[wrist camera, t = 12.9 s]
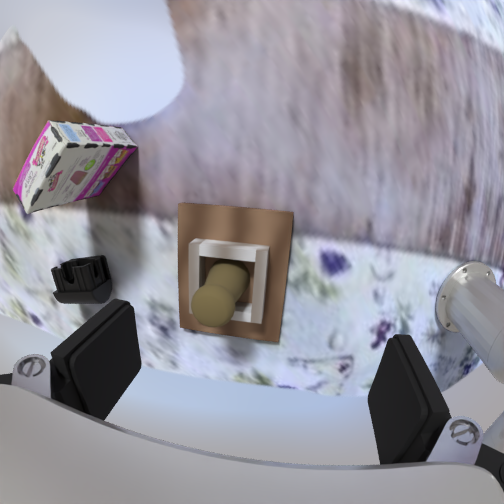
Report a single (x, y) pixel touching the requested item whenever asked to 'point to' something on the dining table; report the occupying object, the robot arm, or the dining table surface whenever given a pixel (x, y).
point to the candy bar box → (71, 163)
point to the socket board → (237, 248)
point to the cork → (220, 292)
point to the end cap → (83, 281)
